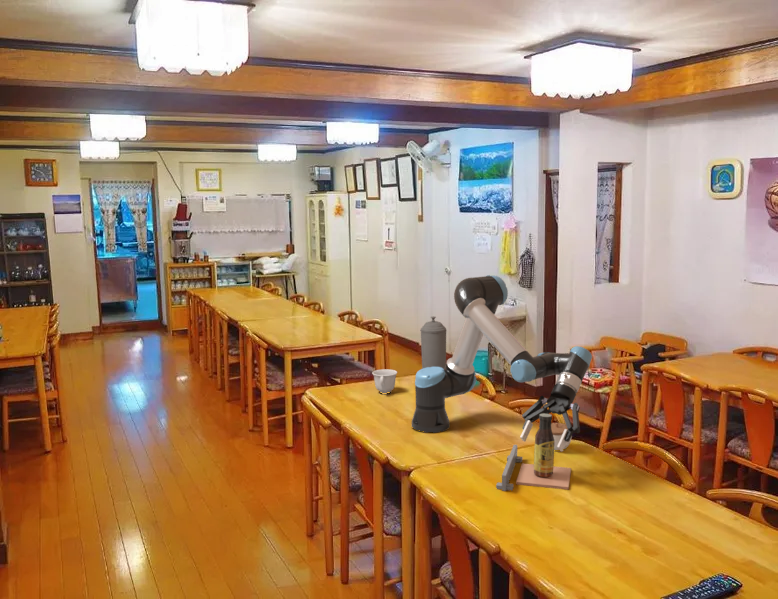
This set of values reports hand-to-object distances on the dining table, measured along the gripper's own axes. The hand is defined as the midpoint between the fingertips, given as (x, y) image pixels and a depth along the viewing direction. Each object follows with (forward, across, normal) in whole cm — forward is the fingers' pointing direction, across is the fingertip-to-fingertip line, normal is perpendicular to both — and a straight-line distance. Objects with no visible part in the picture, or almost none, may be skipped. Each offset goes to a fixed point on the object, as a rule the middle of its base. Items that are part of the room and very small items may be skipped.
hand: (540, 444), depth 217 cm
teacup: (-19, -109, +36) cm, 117 cm away
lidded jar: (-12, -11, +28) cm, 33 cm away
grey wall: (+10, -10, +6) cm, 16 cm away
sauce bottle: (+6, 0, +10) cm, 11 cm away
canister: (-35, -98, +52) cm, 117 cm away
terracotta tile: (+7, 0, +10) cm, 12 cm away
